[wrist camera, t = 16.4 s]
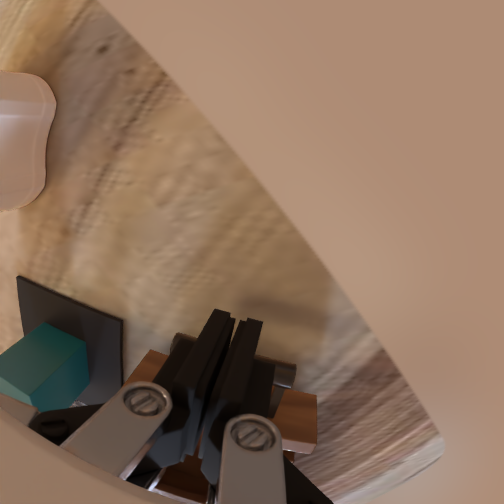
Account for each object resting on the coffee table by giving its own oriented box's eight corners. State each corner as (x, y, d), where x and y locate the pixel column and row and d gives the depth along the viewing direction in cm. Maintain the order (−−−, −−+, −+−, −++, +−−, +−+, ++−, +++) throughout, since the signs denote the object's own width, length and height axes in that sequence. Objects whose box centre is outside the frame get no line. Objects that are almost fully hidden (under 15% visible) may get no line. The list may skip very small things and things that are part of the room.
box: (50, 362, 25) (1, 408, 18) (44, 321, 24) (-14, 365, 16) (90, 383, 25) (43, 438, 17) (86, 341, 23) (29, 396, 16)
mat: (34, 372, 27) (32, 374, 27) (18, 275, 23) (16, 276, 23) (124, 419, 26) (123, 421, 26) (122, 319, 22) (120, 322, 22)
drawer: (154, 298, 20) (119, 333, 16) (338, 347, 19) (345, 396, 15) (147, 454, 26) (130, 488, 22) (266, 488, 25) (260, 526, 21)
